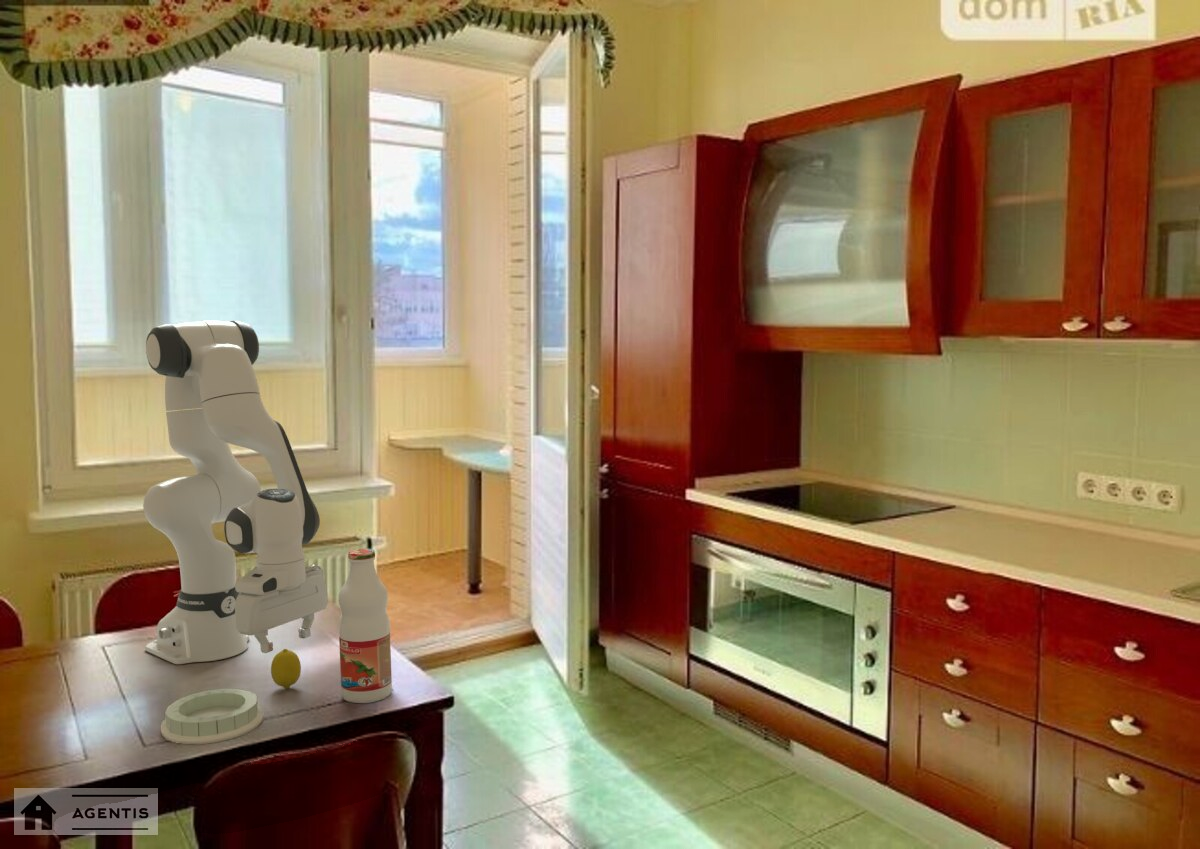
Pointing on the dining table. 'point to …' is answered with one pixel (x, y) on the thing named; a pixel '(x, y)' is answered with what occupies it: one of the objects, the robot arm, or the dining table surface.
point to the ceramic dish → (212, 716)
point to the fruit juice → (364, 632)
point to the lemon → (285, 668)
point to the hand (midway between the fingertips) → (286, 644)
